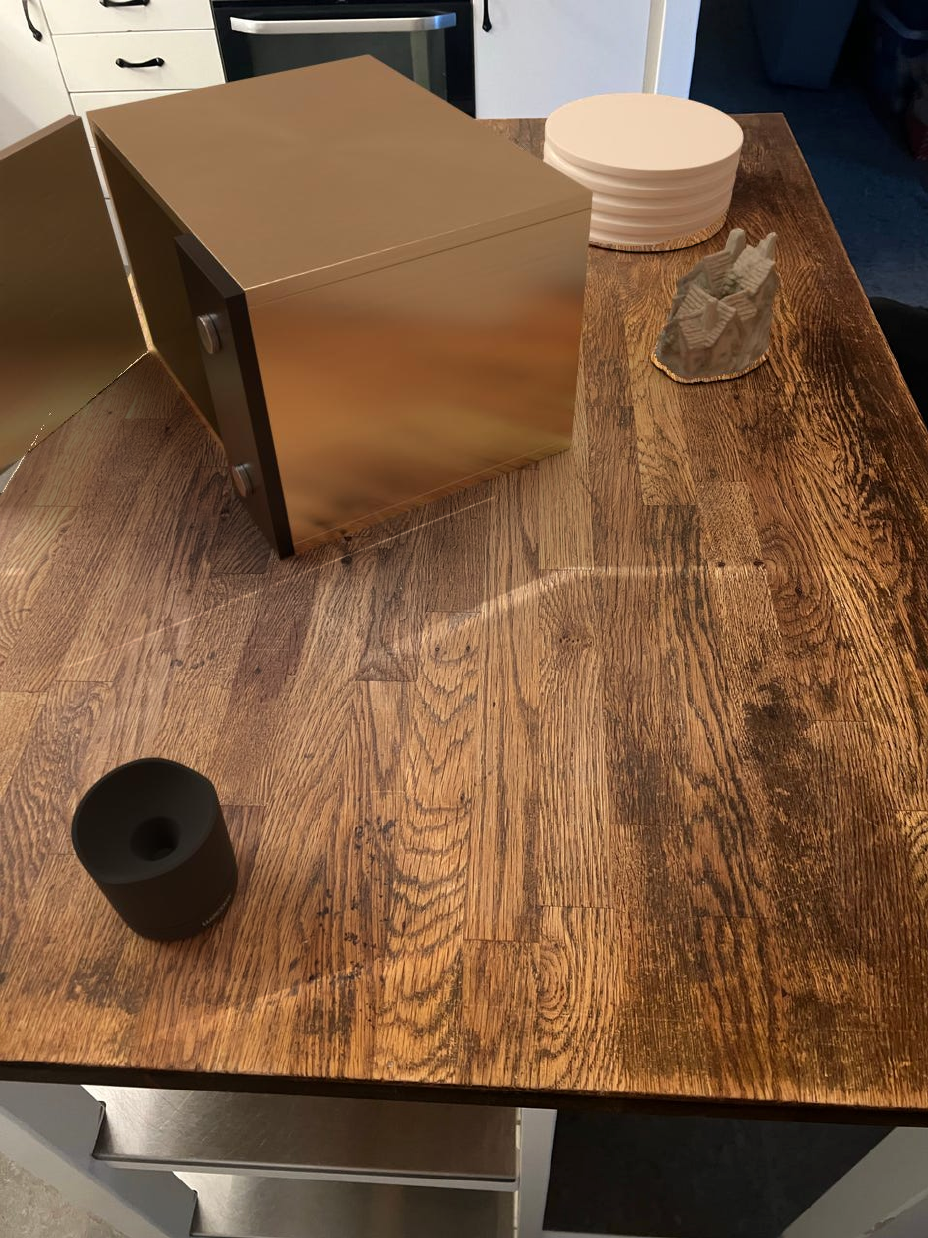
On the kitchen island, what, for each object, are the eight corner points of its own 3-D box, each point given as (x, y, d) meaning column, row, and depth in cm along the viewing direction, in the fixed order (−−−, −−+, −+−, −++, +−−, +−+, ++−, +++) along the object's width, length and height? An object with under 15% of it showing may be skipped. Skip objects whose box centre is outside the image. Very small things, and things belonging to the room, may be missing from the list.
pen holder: (120, 968, 66) (75, 900, 59) (108, 852, 72) (66, 778, 65) (255, 925, 68) (228, 855, 61) (233, 816, 74) (206, 740, 67)
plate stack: (742, 253, 136) (761, 170, 127) (544, 251, 136) (550, 168, 127) (710, 170, 155) (724, 93, 146) (536, 168, 155) (541, 91, 146)
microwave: (273, 564, 93) (214, 298, 73) (133, 355, 119) (61, 115, 99) (571, 447, 106) (593, 191, 85) (386, 281, 131) (368, 53, 111)
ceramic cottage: (723, 300, 126) (741, 188, 115) (792, 369, 116) (820, 253, 105) (615, 329, 123) (623, 218, 112) (677, 402, 113) (693, 288, 102)
